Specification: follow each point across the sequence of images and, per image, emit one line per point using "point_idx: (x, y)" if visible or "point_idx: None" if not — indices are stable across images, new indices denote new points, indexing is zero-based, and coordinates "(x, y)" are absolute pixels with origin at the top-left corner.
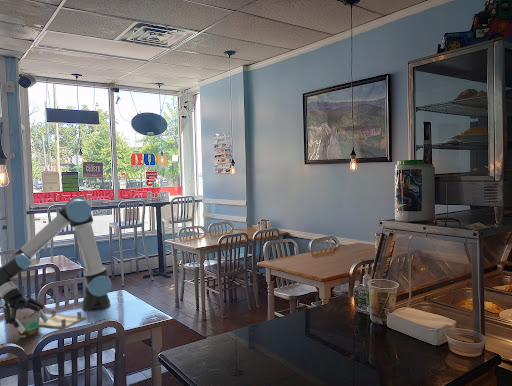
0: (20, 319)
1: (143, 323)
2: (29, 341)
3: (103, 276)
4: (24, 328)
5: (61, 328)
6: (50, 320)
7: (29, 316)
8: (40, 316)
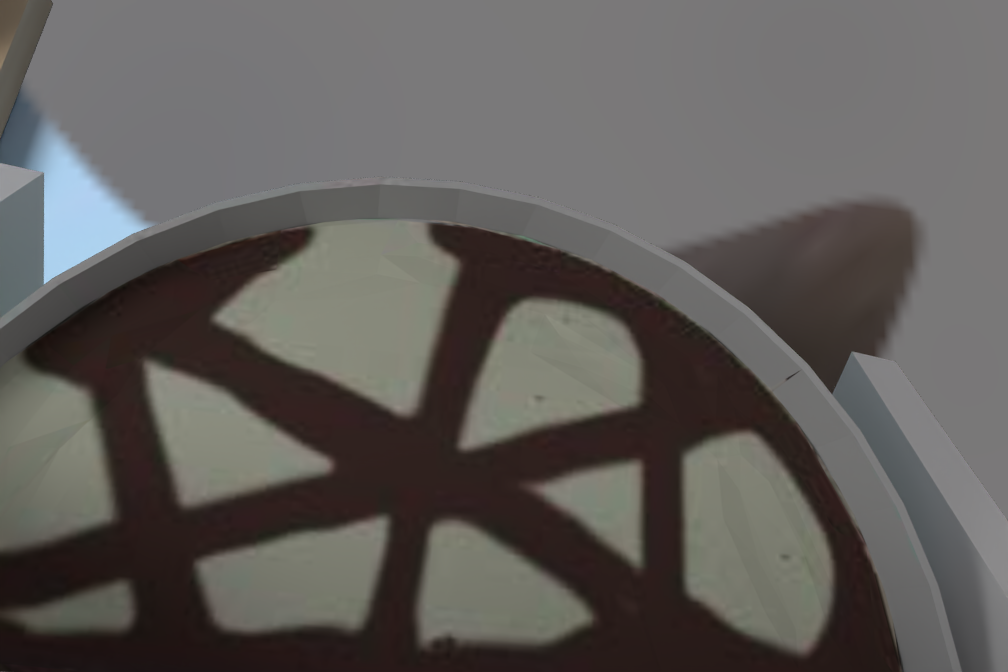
0: (921, 571)
1: None
2: None
3: None
4: (875, 371)
5: (26, 56)
6: None
7: (436, 505)
8: None
